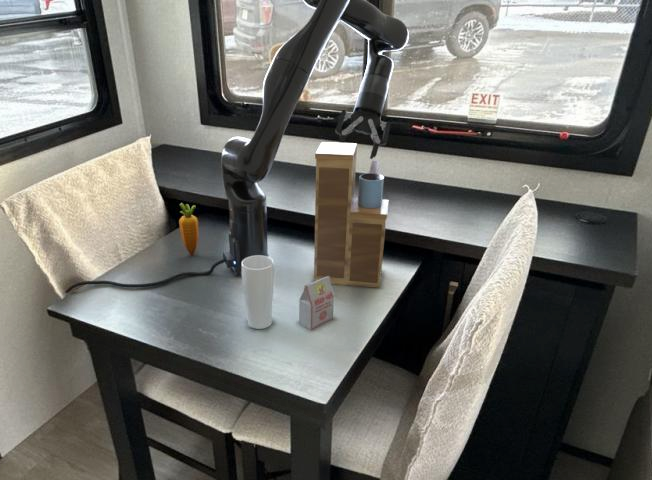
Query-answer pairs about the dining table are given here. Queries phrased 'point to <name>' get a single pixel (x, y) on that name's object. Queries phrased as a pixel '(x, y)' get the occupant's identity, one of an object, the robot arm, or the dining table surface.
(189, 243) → the carrot
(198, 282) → the dining table surface
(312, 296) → the milk carton
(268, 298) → the drinking glass
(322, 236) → the step stand
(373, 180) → the pale blue saucepan
